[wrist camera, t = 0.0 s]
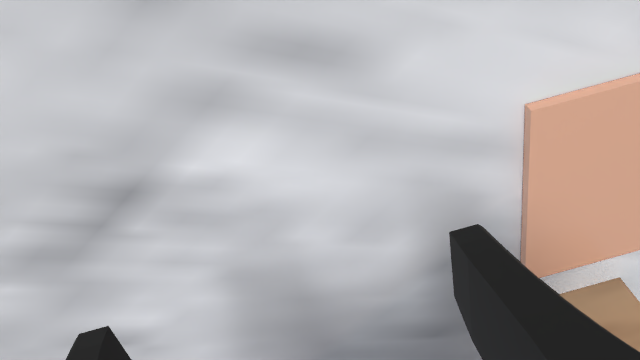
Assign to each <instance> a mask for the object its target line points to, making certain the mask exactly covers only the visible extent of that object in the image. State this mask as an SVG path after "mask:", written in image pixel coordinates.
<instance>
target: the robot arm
mask: <svg viewBox="0 0 640 360" xmlns="http://www.w3.org/2000/svg"><path fill="white" fill-rule="evenodd" d="M449 234H450V247H451V260H452V273H453V286H454V296H455V299H456V301H457V304H458V306H459V309H460V312H461V314H462V317H463V319H464V322H465V324H466V326H467V329H468V331H469V334H470V336H471V338H472V341H473V343H474V344H475V346H476V348H477V350H478V352H479V354H480V356H481V358H482V359H483V360H640V352H639V351H638V350H636V349H634V348H633V347H631V346H630V345H628V344H627V343H625V342H624V341H622V340H621V339H619V338H618V337H616V336H615V335H613V334H612V333H610V332H609V331H608V330H606V329H605V328H603V327H602V326H600V325H599V324H598V323H596V322H595V321H594V320H592V319H591V318H589V317H588V316H587V315H585V314H584V313H583V312H581V311H580V310H579V309H577V308H576V307H575V306H573V305H572V304H571V303H569V302H568V301H567V300H565V299H564V298H563V297H562V296H561V295H559V294H558V293H557V292H556V291H554V290H553V289H552V288H551V287H549V286H548V285H547V284H546V283H544V282H543V281H542V280H541V279H540V278H538V277H537V276H536V275H535V274H534V273H532V272H531V271H530V270H529V269H528V268H527V267H525V266H524V265H523V264H522V263H521V262H520V261H519V260H518V259H516V258H515V257H514V256H513V255H512V254H511V253H510V252H509V251H508V250H506V249H505V248H504V247H503V246H502V245H501V244H500V243H499V242H498V241H497V240H496V239H495V238H494V237H493V236H492V235H491V234H490V233H489V232H488V231H487V230H486V229H485V228H484V227H482V226H480V225H478V224H477V225H473V226H469V227H466V228H462V229H459V230H455V231H451V232H449ZM66 360H131V359H130V357H129V356H128V354H127V353H126V351H125V350H124V348H123V347H122V345H121V344H120V342H119V341H118V339H117V338H116V336H115V335H114V334H113V332H112V331H111V329H110V328H109V326H106V327H103V328H99V329H96V330H92V331H88V332H85V333H81V334H79V335H78V337H77V338H76V340H75V342H74V344H73V346H72V348H71V350H70V352H69V354H68V356H67V358H66Z"/></svg>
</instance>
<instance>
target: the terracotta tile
mask: <svg viewBox="0 0 640 360" xmlns="http://www.w3.org/2000/svg"><path fill="white" fill-rule="evenodd" d="M638 250H640V73H639V74H636V75H632V76H628V77H625V78H621V79H617V80H613V81H610V82H606V83H602V84H599V85H595V86H591V87H588V88H584V89H580V90H577V91H573V92H569V93H566V94H562V95H558V96H555V97H551V98H547V99H544V100H540V101H536V102H532V103H529V104H525V126H524V161H523V196H522V230H521V263H522V264H523V265H524V266H525V267H527V268H528V269H529V270H530V271H531V272H532V273H534V274H535V275H536V276H537V277H538V278H541V277H545V276H548V275H552V274H555V273H559V272H563V271H566V270H570V269H573V268H577V267H581V266H584V265H588V264H591V263H595V262H598V261H602V260H606V259H609V258H613V257H616V256H620V255H624V254H627V253H631V252H634V251H638Z"/></svg>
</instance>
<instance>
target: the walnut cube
mask: <svg viewBox="0 0 640 360" xmlns="http://www.w3.org/2000/svg"><path fill="white" fill-rule="evenodd" d="M559 295H561V296H562V297H563V298H564V299H565V300H567V301H568V302H569V303H571V304H572V305H573V306H575V307H576V308H577V309H579V310H580V311H581V312H583V313H584V314H585V315H587V316H588V317H589V318H591V319H592V320H594V321H595V322H596V323H598V324H599V325H600V326H602V327H603V328H605V329H606V330H608V331H609V332H610V333H612V334H613V335H615V336H616V337H618V338H619V339H621V340H622V341H624V342H625V343H627V344H628V345H630V346H631V347H633V348H634V349H636V350H638V351H639V352H640V302H639V301H638V300H637V298H636V297H635V296H634V295H633V293H632V292H631V291H630V290H629V288H628V287H627V286H626V285H625V283H624V282H623V281H622V280H621V278H616V279H612V280H609V281H605V282H602V283H598V284H595V285H591V286H587V287H584V288H580V289H577V290H573V291H570V292H566V293H562V294H559Z"/></svg>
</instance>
